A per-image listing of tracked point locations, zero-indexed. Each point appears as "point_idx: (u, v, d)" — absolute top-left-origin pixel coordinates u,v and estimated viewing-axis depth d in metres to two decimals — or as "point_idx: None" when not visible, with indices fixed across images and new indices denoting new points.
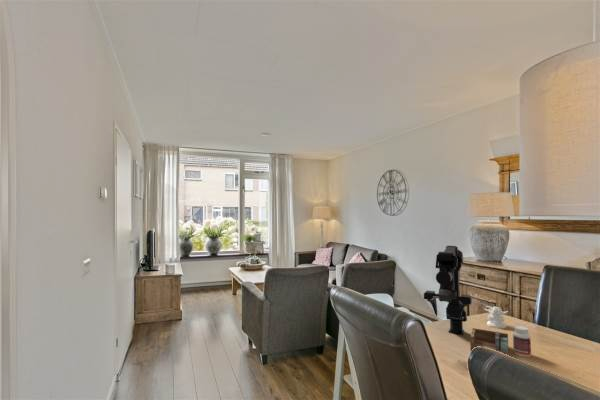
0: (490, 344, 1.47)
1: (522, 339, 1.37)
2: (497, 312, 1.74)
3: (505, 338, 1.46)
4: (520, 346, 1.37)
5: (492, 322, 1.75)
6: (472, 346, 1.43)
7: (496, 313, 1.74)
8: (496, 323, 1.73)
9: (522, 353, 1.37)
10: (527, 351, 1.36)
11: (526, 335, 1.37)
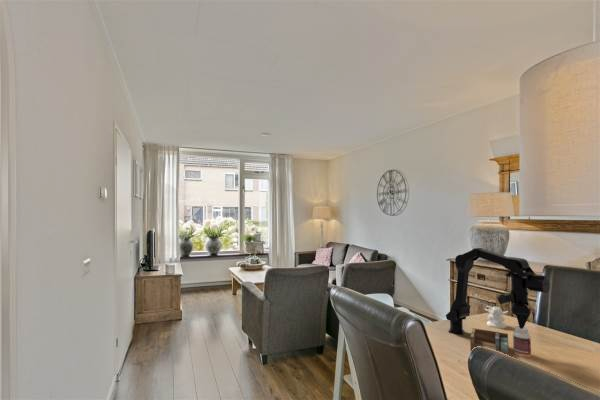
0: (490, 344, 1.47)
1: (522, 339, 1.37)
2: (497, 312, 1.74)
3: (505, 338, 1.46)
4: (520, 346, 1.37)
5: (492, 322, 1.75)
6: (472, 346, 1.43)
7: (496, 313, 1.74)
8: (496, 323, 1.73)
9: (522, 353, 1.37)
10: (527, 351, 1.36)
11: (526, 335, 1.37)
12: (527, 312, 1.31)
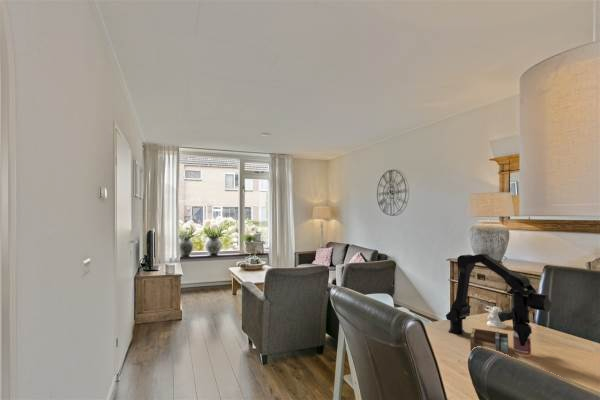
0: (490, 344, 1.47)
1: None
2: (497, 312, 1.74)
3: (505, 338, 1.46)
4: (520, 346, 1.37)
5: (492, 322, 1.75)
6: (472, 346, 1.43)
7: (496, 313, 1.74)
8: (496, 323, 1.73)
9: (522, 353, 1.37)
10: (527, 351, 1.36)
11: None
12: (528, 331, 1.31)
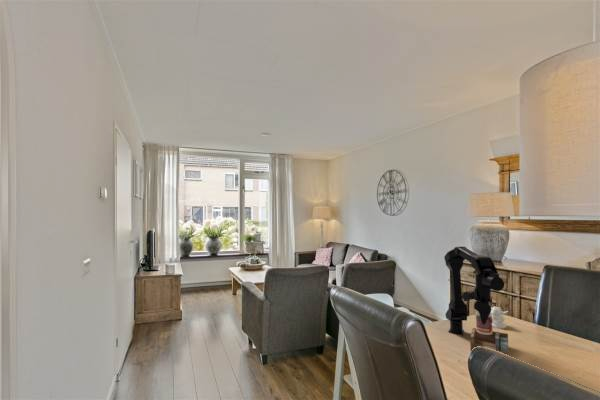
0: (490, 344, 1.47)
1: None
2: (497, 312, 1.74)
3: (505, 338, 1.46)
4: (482, 325, 1.40)
5: (492, 322, 1.75)
6: (472, 346, 1.43)
7: (496, 313, 1.74)
8: (496, 323, 1.73)
9: (483, 331, 1.40)
10: (488, 329, 1.39)
11: None
12: (488, 309, 1.34)
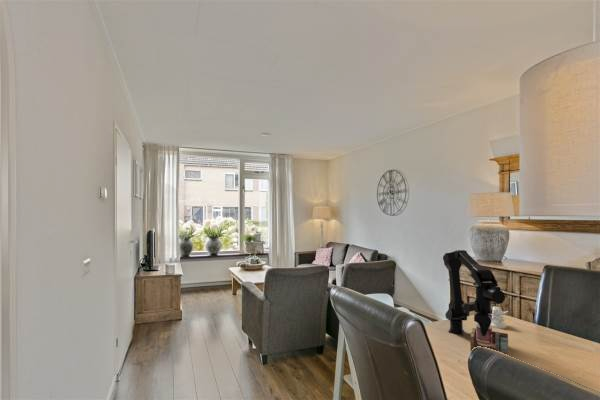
0: None
1: None
2: (497, 312, 1.74)
3: (505, 338, 1.46)
4: (482, 336, 1.42)
5: (492, 322, 1.75)
6: (472, 346, 1.43)
7: (496, 313, 1.74)
8: (496, 323, 1.73)
9: (483, 343, 1.41)
10: (488, 341, 1.41)
11: None
12: (488, 321, 1.35)
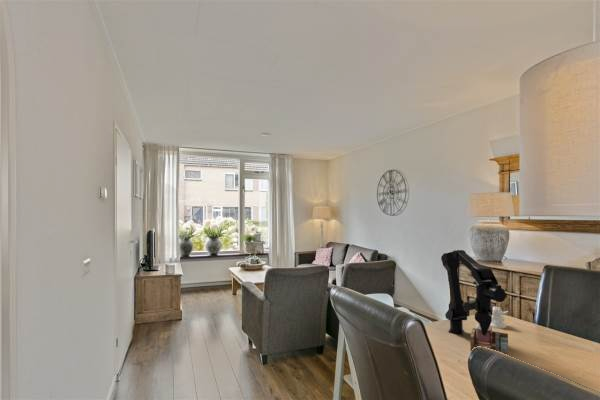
0: None
1: None
2: (497, 312, 1.74)
3: (505, 338, 1.46)
4: (482, 338, 1.43)
5: (492, 322, 1.75)
6: (472, 346, 1.43)
7: (496, 313, 1.74)
8: (496, 323, 1.73)
9: (484, 344, 1.43)
10: (489, 343, 1.42)
11: None
12: (488, 320, 1.37)
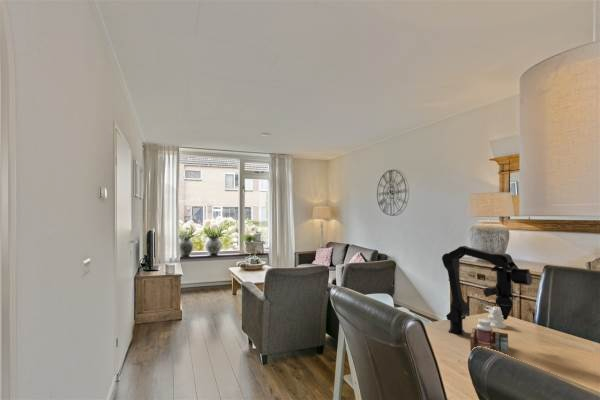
0: None
1: (484, 331, 1.43)
2: (497, 312, 1.74)
3: (505, 338, 1.46)
4: (482, 338, 1.43)
5: (492, 322, 1.75)
6: (472, 346, 1.43)
7: (496, 313, 1.74)
8: (496, 323, 1.73)
9: (484, 344, 1.43)
10: (489, 343, 1.42)
11: (488, 327, 1.43)
12: (509, 304, 1.39)
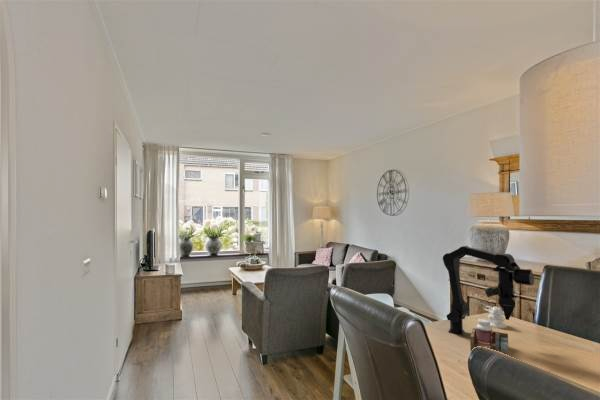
0: None
1: (484, 331, 1.43)
2: (497, 312, 1.74)
3: (505, 338, 1.46)
4: (482, 338, 1.43)
5: (492, 322, 1.75)
6: (472, 346, 1.43)
7: (496, 313, 1.74)
8: (496, 323, 1.73)
9: (484, 344, 1.43)
10: (489, 343, 1.42)
11: (488, 327, 1.43)
12: (512, 304, 1.40)
